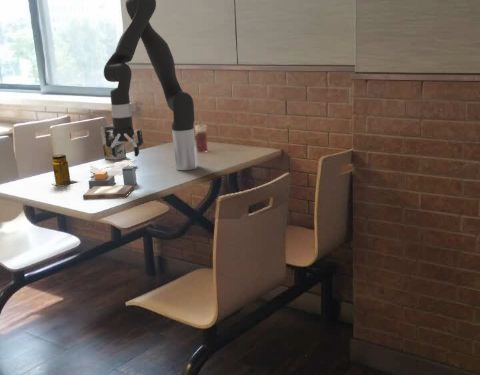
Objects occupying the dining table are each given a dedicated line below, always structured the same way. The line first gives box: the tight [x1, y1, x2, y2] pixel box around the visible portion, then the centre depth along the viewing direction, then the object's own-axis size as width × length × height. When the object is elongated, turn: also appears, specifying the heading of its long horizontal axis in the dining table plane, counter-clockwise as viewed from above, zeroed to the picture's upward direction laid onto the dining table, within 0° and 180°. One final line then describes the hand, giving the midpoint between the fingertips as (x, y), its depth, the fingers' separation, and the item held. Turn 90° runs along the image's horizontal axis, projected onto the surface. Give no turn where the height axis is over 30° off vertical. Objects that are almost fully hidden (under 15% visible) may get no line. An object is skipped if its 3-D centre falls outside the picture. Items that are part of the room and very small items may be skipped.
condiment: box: [52, 153, 78, 187], centre depth 246 cm, size 7×8×12 cm
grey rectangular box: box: [122, 165, 138, 187], centre depth 236 cm, size 4×4×7 cm
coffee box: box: [100, 124, 127, 161], centre depth 288 cm, size 9×6×16 cm
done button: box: [93, 170, 108, 180], centre depth 238 cm, size 4×4×3 cm
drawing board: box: [82, 184, 135, 200], centre depth 226 cm, size 16×12×2 cm
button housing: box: [88, 175, 116, 189], centre depth 239 cm, size 8×8×3 cm
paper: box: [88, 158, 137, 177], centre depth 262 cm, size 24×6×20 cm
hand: (126, 156), depth 234 cm, fingers open, 8 cm apart
